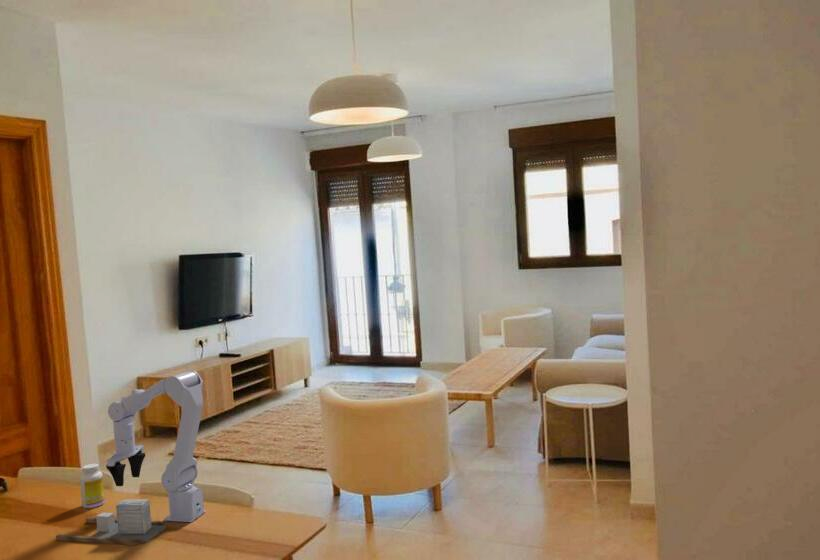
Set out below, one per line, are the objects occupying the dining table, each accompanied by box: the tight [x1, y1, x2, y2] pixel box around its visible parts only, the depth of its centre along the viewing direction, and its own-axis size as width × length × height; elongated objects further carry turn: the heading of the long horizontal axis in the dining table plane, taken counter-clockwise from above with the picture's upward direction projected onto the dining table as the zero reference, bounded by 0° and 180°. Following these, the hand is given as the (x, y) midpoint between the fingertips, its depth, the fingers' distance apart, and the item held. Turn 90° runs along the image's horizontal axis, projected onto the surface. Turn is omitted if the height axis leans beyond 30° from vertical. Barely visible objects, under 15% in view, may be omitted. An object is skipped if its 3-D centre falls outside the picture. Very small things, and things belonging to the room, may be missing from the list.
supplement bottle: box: [79, 463, 106, 509], centre depth 207 cm, size 7×7×13 cm
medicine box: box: [115, 498, 152, 534], centre depth 183 cm, size 8×4×9 cm, turn 84°
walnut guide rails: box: [55, 516, 164, 546], centre depth 185 cm, size 26×13×1 cm, turn 76°
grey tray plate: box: [91, 511, 167, 544], centre depth 183 cm, size 18×9×5 cm, turn 76°
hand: (127, 481), depth 200 cm, fingers open, 7 cm apart
